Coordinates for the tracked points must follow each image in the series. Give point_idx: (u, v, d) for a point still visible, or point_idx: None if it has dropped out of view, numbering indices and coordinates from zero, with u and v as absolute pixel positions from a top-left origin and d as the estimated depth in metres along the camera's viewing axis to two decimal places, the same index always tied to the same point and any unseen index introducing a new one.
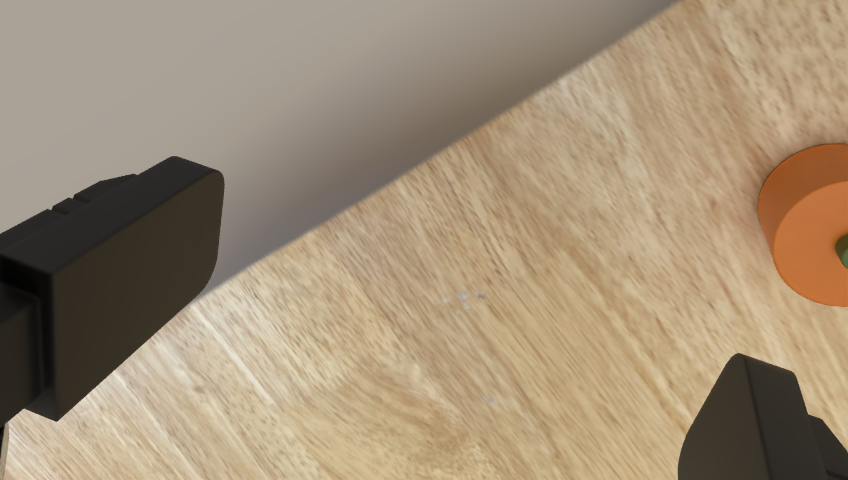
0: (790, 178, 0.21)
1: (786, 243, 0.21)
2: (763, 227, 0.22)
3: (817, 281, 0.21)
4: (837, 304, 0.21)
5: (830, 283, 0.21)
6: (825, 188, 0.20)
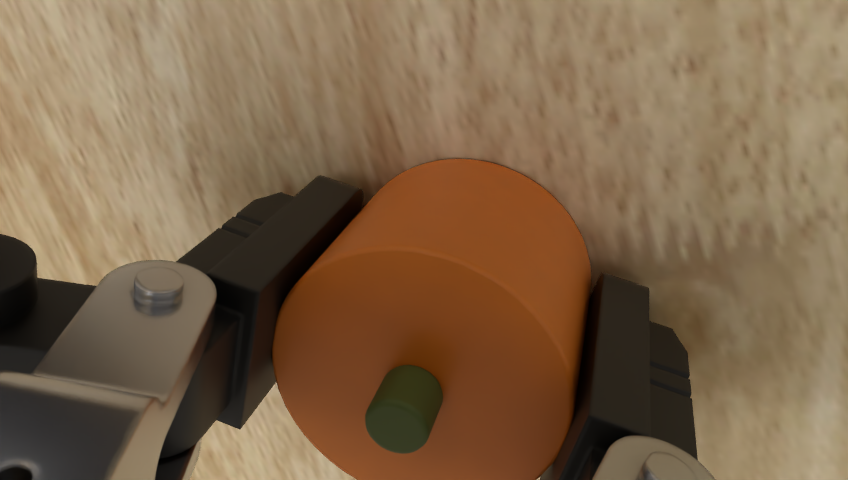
0: (390, 200, 0.10)
1: (299, 330, 0.09)
2: None
3: (339, 425, 0.10)
4: (364, 479, 0.10)
5: (360, 439, 0.10)
6: (398, 252, 0.08)
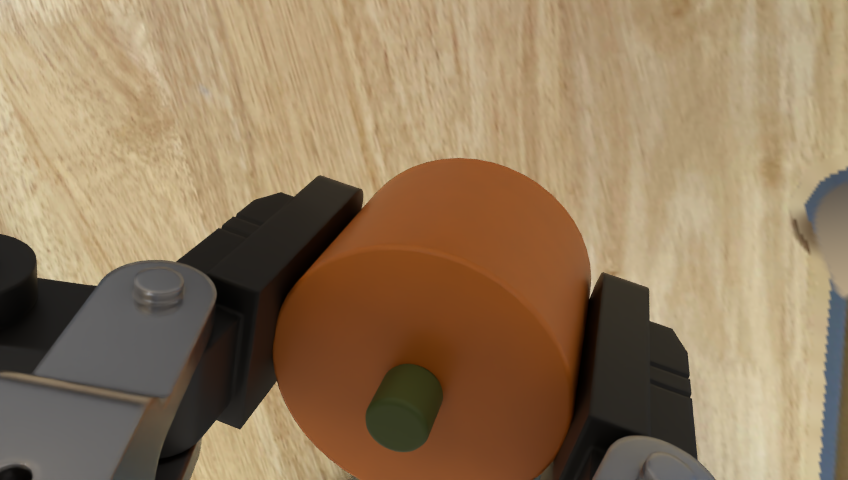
0: (390, 200, 0.10)
1: (299, 329, 0.09)
2: None
3: (339, 424, 0.10)
4: (364, 478, 0.10)
5: (360, 438, 0.10)
6: (398, 251, 0.08)
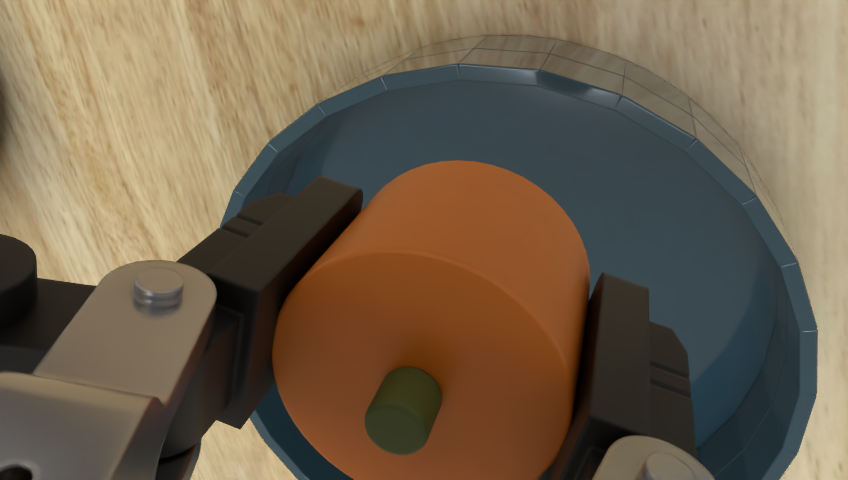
0: (389, 202, 0.10)
1: (298, 332, 0.09)
2: None
3: (338, 427, 0.10)
4: None
5: (360, 441, 0.10)
6: (396, 253, 0.08)
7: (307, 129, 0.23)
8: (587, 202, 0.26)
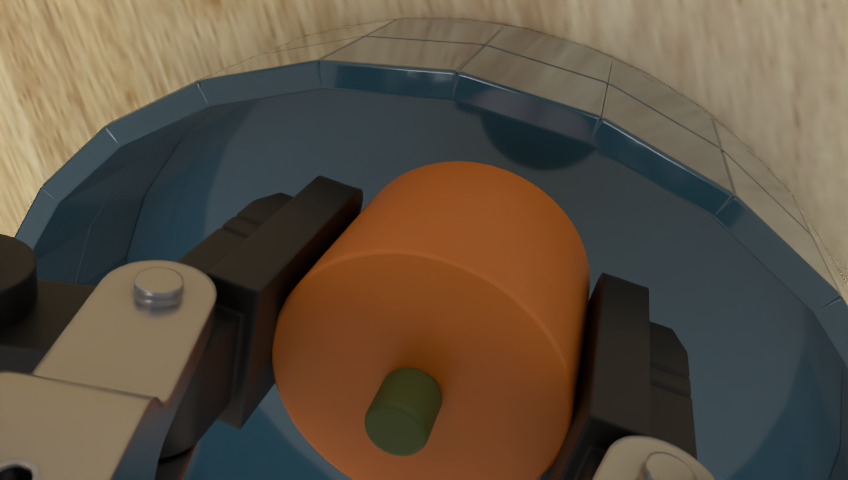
0: (389, 203, 0.10)
1: (298, 333, 0.09)
2: None
3: (338, 428, 0.10)
4: None
5: (360, 441, 0.10)
6: (396, 255, 0.08)
7: (95, 167, 0.14)
8: None
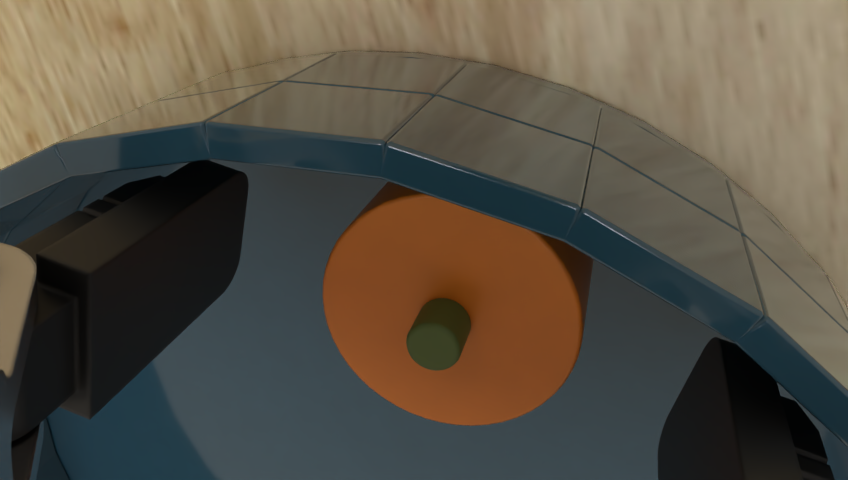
0: None
1: (347, 270, 0.11)
2: None
3: (379, 355, 0.11)
4: (400, 404, 0.12)
5: (398, 367, 0.11)
6: (434, 199, 0.10)
7: None
8: None
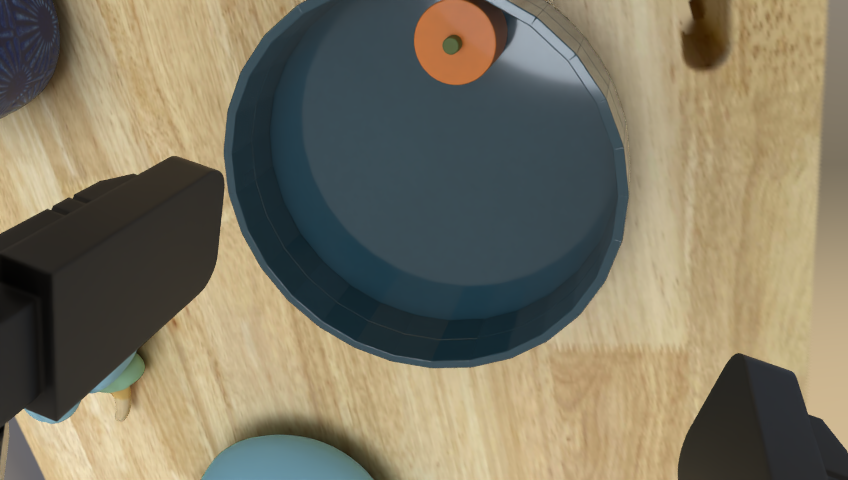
0: None
1: (422, 28, 0.34)
2: None
3: (432, 60, 0.34)
4: (439, 79, 0.34)
5: (438, 64, 0.34)
6: (450, 0, 0.33)
7: (290, 24, 0.34)
8: (488, 84, 0.37)
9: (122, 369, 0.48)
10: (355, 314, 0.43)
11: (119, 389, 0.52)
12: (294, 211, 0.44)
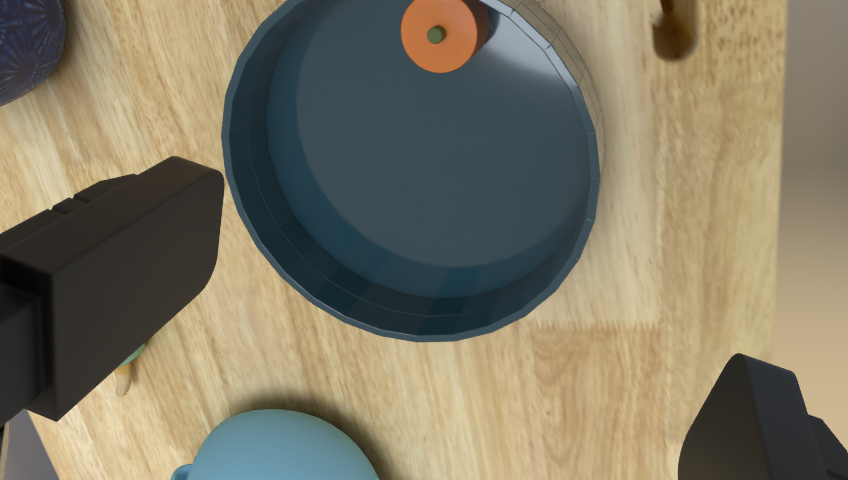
0: None
1: (409, 19, 0.36)
2: None
3: (418, 49, 0.36)
4: (424, 67, 0.37)
5: (423, 53, 0.36)
6: None
7: (284, 14, 0.36)
8: (471, 72, 0.39)
9: None
10: (345, 292, 0.45)
11: (120, 365, 0.54)
12: (288, 193, 0.46)
